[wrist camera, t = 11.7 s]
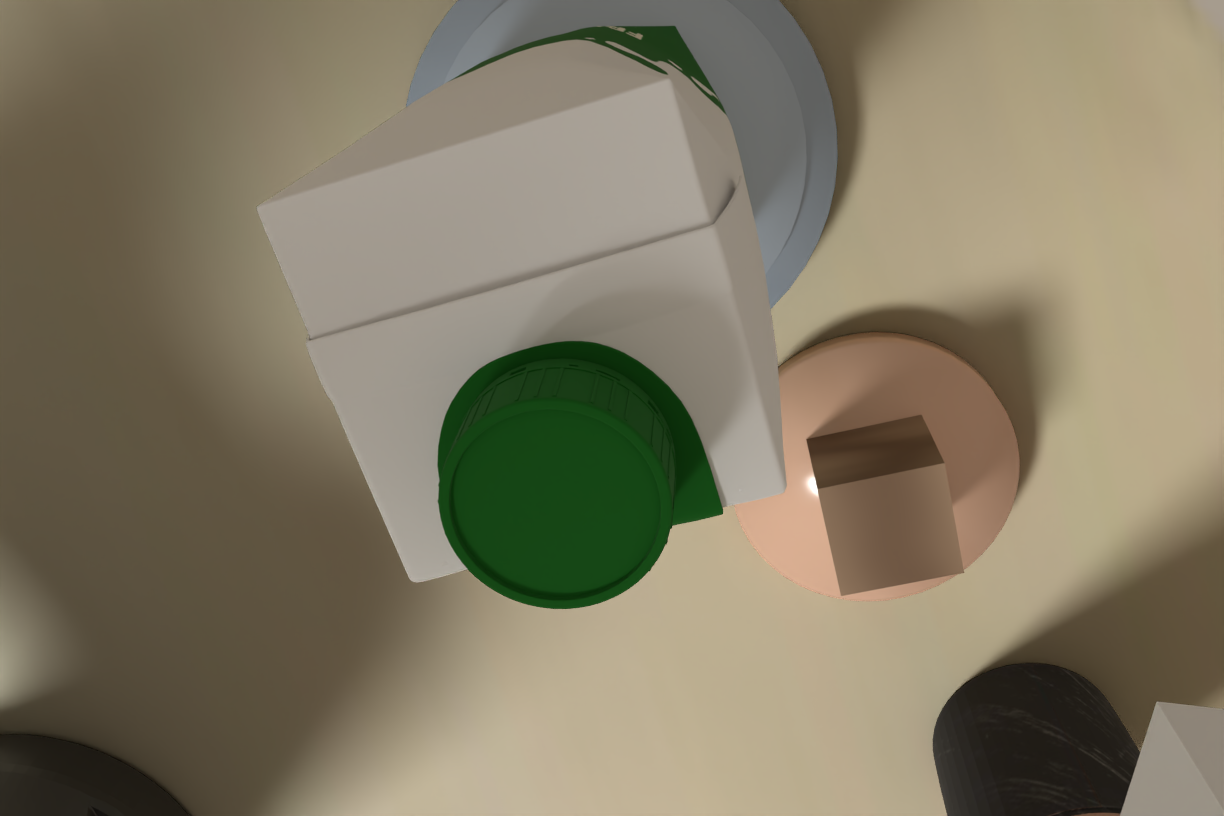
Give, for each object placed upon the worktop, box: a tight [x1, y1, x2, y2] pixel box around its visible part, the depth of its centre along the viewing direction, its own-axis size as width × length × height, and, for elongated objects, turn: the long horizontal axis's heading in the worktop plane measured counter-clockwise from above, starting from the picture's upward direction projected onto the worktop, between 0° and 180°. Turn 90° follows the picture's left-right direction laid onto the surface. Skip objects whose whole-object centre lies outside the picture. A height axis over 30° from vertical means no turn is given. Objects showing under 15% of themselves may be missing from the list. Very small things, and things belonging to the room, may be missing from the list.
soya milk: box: [257, 26, 787, 609], centre depth 28 cm, size 9×9×20 cm
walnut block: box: [806, 415, 964, 596], centre depth 39 cm, size 4×4×4 cm
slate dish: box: [406, 0, 838, 309], centre depth 38 cm, size 14×14×2 cm
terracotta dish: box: [734, 332, 1020, 601], centre depth 42 cm, size 10×10×1 cm
